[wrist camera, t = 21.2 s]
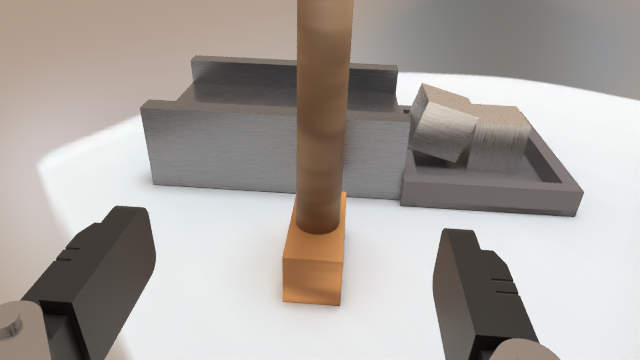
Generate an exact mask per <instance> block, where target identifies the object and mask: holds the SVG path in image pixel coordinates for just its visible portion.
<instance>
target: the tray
mask: <svg viewBox="0 0 640 360" xmlns="http://www.w3.org/2000/svg"><path fill="white" fill-rule="evenodd" d="M411 107H412V106H403V105H398V108H399V113H404V114H409V112H410V109H411ZM521 113H522V112H521ZM522 115H523V114H522ZM523 116H524V115H523ZM524 117H525V116H524ZM525 119H526V117H525ZM526 120H527V119H526ZM527 121H528V120H527ZM528 123H529V121H528ZM529 124H530V123H529ZM530 125H531V124H530ZM583 194H584V191H583V190H582V189H581V187H580V186H579V185H578V184H577V182H576V181H575V180H574V178H573V177H572V176H571V175H570V173H569V172H568V171H567V170H566V168H565V167H564V166H563V164H562V163H561V162H560V161H559V159H558V158H557V157H556V156H555V154H554V153H553V152H552V150H551V149H550V148H549V147H548V145H547V144H546V143H545V142H544V140H543V139H542V138H541V136H540V135H539V134H538V133H537V131H536V130H535V129H534V128H533V126H532V125H531V131H530V134H529V138H528V141H527V144H526V148H525V151H524V155H523V158H522V162H521V165H520V169H519V172H518V174H513V173H499V172H484V171H469V170H466V169H465V166H464V163H463V161H462V158H461V155H459V157H458V159H457V161H456V163H454V162H451V161H448V160H445V159H442V158H439V157H435V156H432V155H429V154H426V153H423V152H419V151H416V150H413V149H410V148H407V153H406V160H405V167H404V174H403V181H402V188H401V195H400V204H401V206H417V207H433V208H449V209H464V210H480V211H496V212H512V213H528V214H544V215H560V216H575V215H576V212H577V210H578V207H579V204H580V202H581V199H582V197H583Z"/></svg>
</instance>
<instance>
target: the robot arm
mask: <svg viewBox="0 0 640 360" xmlns="http://www.w3.org/2000/svg"><path fill="white" fill-rule="evenodd" d="M155 262H156V251H155V246H154V240H153V235H152V230H151V225H150V220H149V215H148V212H147V210H146V209H145V208H143V207H128V206H115V207H114V208H113V209H112V210H111V211H110V212H109V214H108V215H107V216H106V217H105V218H104V220H103V221H102V222H101V223H93V224H92V225H90V226H89V227H87V228H85V229H84V230H82V231H81V232H79V233H78V234H77V235H76V236H75V237H74V238H73V239H72V240H71V242H70V243H69V244H68V245H67V246H66V249H65V250H63V251H62V252H61V253H60V255H59V256H58V257H57V258H56V261H53V263H52V264H51V265H50V266H49V267H48V268H47V270H46V271H45V272H44V273H43V274H42V275H41V277H40V278H39V279H38V280H37V281H36V283H35V284H34V285H33V286H32V287H31V288H30V289H29V291H28V292H27V293H26V294H25V295H24V297H23V298H22V299H21V300H20V301H14V302H8V303H5V304H2V305H0V360H104V359H105V357H106V356H107V354H108V352H109V350H110V349H111V347H112V345H113V343H114V341H115V340H116V338H117V336H118V334H119V332H120V331H121V329H122V327H123V325H124V324H125V322H126V320H127V318H128V316H129V315H130V313H131V311H132V309H133V307H134V306H135V304H136V302H137V300H138V299H139V297H140V295H141V293H142V291H143V290H144V288H145V286H146V284H147V282H148V281H149V279H150V277H151V275H152V273H153V271H154V267H155ZM433 296H434V302H435V307H436V312H437V317H438V322H439V327H440V333H441V338H442V343H443V348H444V353H445V358H446V360H560V359H559V358H558V357H557V356H556V355H555V354H554V353H553V352H552V351H551V350H549V349H548V348H546V347H545V346H543V345H541V344H540V343H539V341H538V339H537V336H536V334H535V331H534V329H533V326H532V324H531V322H530V319H529V317H528V314H527V312H526V310H525V307H524V305H523V302H522V300H521V298H520V296H518V290H517V288H516V286H515V283H513V278H512V276H511V274H510V271H509V269H508V266H507V264H506V263H505V262H504V261H503V260H502V259H501V258H500V257H499V256H498V255H497V254H496V253H495V252H494V251H490V250H481V249H480V246H479V243H478V241H477V238H476V235H475V233H474V231H473V230H462V229H447V228H444V229H443V231H442V234H441V239H440V243H439V248H438V253H437V258H436V263H435V268H434V273H433Z"/></svg>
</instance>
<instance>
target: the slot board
mask: <svg viewBox="0 0 640 360" xmlns="http://www.w3.org/2000/svg"><path fill="white" fill-rule="evenodd" d="M191 67H192V75H193V83H192V84H191V85H190V87H189V88H188V89H187V90H186V91H185V92H184V93H183V94H182V95H181V96H180V98H179V99H178V100H177V101H163V100H148V101H147V102H146V103H145V104H143V105H142V106H141V107H140V111H141V116H142V122H143V127H144V133H145V138H146V144H147V149H148V155H149V160H150V166H151V171H152V177H153V182H154V184H156V185H172V186H188V187H204V188H220V189H237V190H253V191H269V192H285V193H296V153H297V60H277V59H256V58H236V57H217V56H197V55H196V56H195V57H194V58H193V59H192V60H191ZM397 76H398V68H397V65H378V64H358V63H350V67H349V82H348V98H347V113H346V129H345V144H344V160H343V175H342V191H341V192H346V196H349V197H365V198H381V199H397V200H400V195H401V188H402V181H403V174H404V167H405V160H406V153H407V146H408V139H409V131H410V124H411V122H410V118H409V114H404V113H399V108H398V103H397V98H396V93H395V92H396V84H397Z"/></svg>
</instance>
